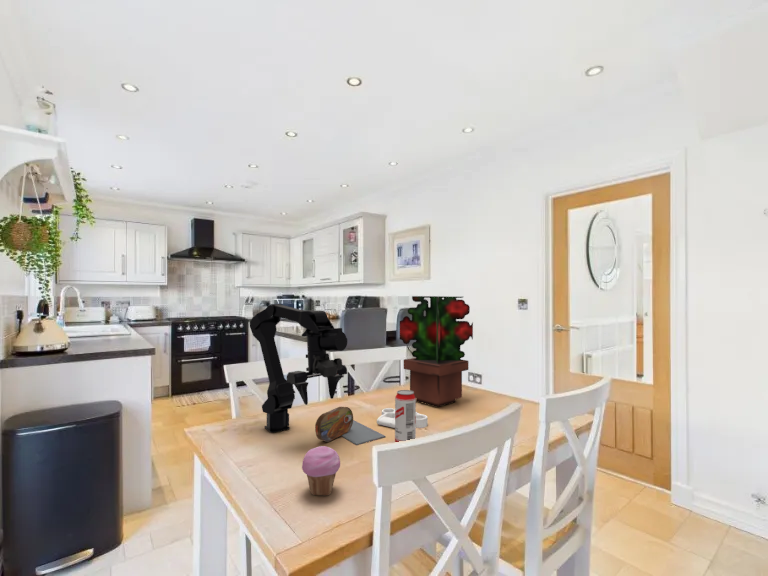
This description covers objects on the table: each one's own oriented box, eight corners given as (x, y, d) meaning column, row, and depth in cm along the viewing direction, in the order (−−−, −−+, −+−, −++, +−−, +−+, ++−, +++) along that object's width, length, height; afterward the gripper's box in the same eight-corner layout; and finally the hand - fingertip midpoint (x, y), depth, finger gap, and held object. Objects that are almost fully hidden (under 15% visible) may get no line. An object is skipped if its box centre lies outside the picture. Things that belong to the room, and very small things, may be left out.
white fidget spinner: (369, 424, 132) (391, 414, 144) (414, 435, 122) (433, 423, 134) (369, 415, 132) (391, 405, 144) (414, 425, 122) (433, 413, 134)
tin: (320, 445, 112) (320, 417, 112) (313, 443, 114) (312, 415, 114) (354, 429, 124) (353, 404, 124) (347, 427, 126) (346, 402, 126)
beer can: (401, 450, 109) (401, 395, 109) (391, 443, 114) (391, 390, 115) (419, 447, 112) (419, 393, 112) (408, 439, 117) (408, 388, 118)
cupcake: (339, 501, 82) (339, 455, 82) (299, 503, 81) (299, 456, 81) (340, 481, 91) (341, 439, 91) (304, 482, 90) (305, 440, 90)
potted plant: (432, 392, 176) (433, 296, 177) (472, 402, 159) (472, 296, 160) (399, 400, 161) (399, 296, 162) (439, 412, 144) (440, 296, 145)
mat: (356, 445, 113) (356, 443, 113) (326, 427, 128) (326, 426, 128) (385, 437, 119) (385, 435, 119) (353, 421, 134) (353, 419, 134)
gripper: (303, 355, 105) (305, 412, 104) (356, 348, 117) (359, 398, 116) (284, 353, 113) (287, 406, 112) (336, 347, 125) (338, 394, 124)
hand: (319, 401), depth 116 cm, fingers open, 9 cm apart
